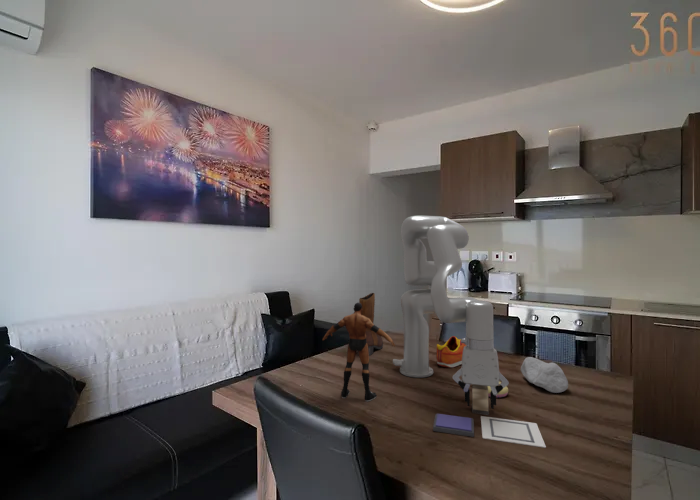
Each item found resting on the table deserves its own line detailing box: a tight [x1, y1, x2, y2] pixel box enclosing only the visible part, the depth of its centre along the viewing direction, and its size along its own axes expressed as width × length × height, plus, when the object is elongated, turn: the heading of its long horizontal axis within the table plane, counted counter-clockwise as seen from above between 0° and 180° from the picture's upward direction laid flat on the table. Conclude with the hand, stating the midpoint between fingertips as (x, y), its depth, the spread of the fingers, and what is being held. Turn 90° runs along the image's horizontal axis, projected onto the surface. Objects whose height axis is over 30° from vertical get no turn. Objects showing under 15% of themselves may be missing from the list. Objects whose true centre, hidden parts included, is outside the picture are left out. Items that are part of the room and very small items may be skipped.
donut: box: [488, 381, 509, 399], centre depth 116 cm, size 10×5×9 cm
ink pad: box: [432, 413, 475, 438], centre depth 93 cm, size 10×8×1 cm
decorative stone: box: [520, 356, 569, 394], centre depth 122 cm, size 17×10×10 cm
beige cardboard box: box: [471, 384, 490, 416], centre depth 103 cm, size 4×4×7 cm
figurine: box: [322, 302, 396, 402], centre depth 113 cm, size 24×6×30 cm, turn 71°
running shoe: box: [435, 335, 466, 369], centre depth 149 cm, size 10×28×11 cm, turn 134°
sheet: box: [480, 415, 547, 449], centre depth 91 cm, size 14×12×1 cm
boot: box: [357, 292, 384, 357], centre depth 167 cm, size 25×9×27 cm, turn 152°
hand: (480, 405), depth 103 cm, fingers open, 5 cm apart
